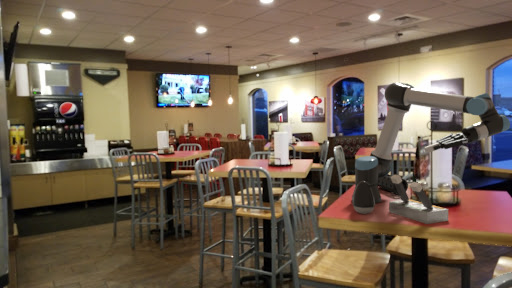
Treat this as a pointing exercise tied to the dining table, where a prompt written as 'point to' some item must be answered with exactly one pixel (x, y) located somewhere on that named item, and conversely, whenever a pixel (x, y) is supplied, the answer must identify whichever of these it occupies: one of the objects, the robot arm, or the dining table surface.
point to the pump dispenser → (364, 198)
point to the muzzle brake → (390, 184)
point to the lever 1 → (400, 187)
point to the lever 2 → (421, 194)
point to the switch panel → (418, 211)
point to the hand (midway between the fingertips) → (425, 150)
